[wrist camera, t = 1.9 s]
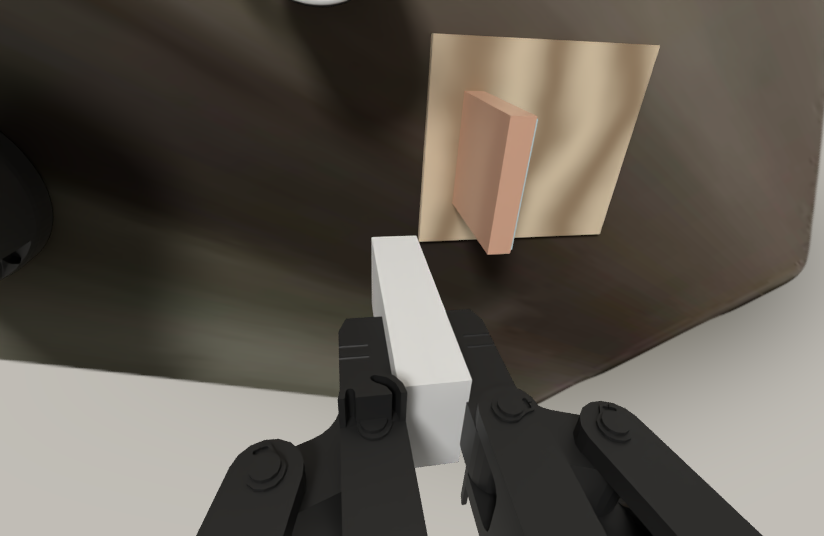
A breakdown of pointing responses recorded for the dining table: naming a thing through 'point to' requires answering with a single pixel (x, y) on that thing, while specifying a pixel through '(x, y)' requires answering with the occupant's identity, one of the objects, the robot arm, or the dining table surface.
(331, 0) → the mug
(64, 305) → the dining table surface
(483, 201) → the tile
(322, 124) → the dining table surface
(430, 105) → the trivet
